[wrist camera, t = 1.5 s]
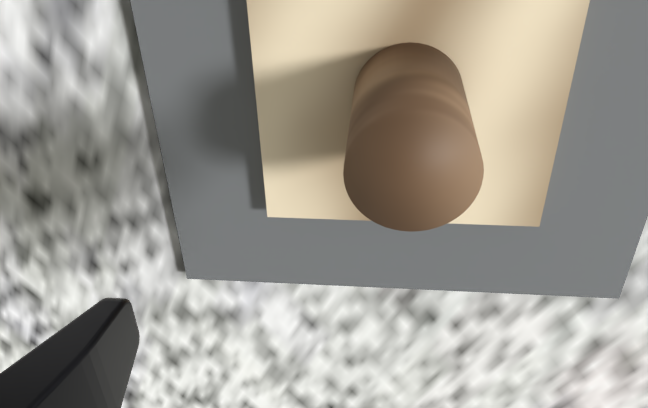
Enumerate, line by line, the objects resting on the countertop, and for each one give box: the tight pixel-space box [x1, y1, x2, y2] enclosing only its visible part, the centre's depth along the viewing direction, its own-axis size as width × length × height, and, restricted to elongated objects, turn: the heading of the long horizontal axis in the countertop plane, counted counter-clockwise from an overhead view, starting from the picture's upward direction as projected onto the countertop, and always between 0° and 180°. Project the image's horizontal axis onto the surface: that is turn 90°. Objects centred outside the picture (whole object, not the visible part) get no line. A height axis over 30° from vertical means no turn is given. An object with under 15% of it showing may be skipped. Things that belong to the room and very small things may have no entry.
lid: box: [247, 0, 590, 232], centre depth 17 cm, size 10×10×6 cm
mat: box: [130, 0, 648, 298], centre depth 20 cm, size 18×18×1 cm
